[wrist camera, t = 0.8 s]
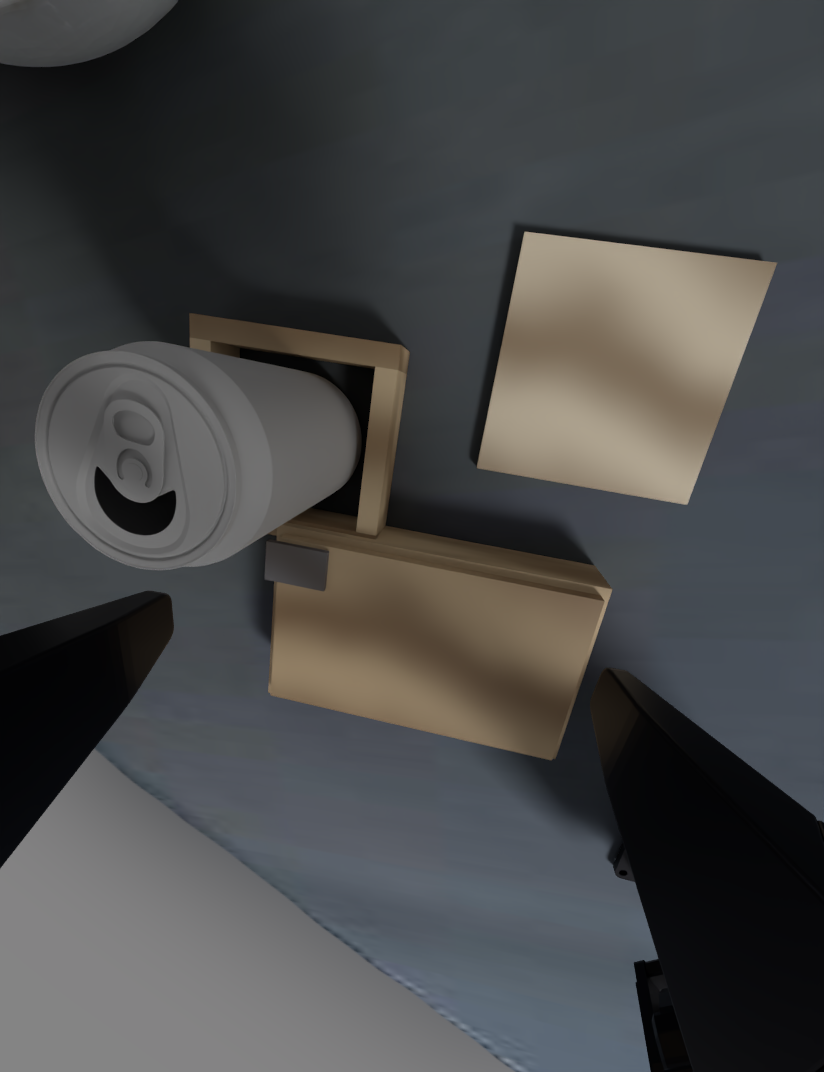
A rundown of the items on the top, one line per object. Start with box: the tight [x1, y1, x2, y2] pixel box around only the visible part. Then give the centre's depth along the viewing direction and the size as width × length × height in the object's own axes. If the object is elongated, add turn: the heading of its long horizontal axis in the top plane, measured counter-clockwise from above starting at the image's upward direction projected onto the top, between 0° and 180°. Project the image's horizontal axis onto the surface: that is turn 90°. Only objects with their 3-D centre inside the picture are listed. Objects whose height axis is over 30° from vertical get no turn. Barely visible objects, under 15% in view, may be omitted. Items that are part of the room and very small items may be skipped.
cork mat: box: [477, 232, 777, 505], centre depth 19 cm, size 10×10×1 cm
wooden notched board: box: [189, 313, 612, 761], centre depth 21 cm, size 19×21×4 cm
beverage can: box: [35, 341, 362, 570], centre depth 16 cm, size 6×6×12 cm
